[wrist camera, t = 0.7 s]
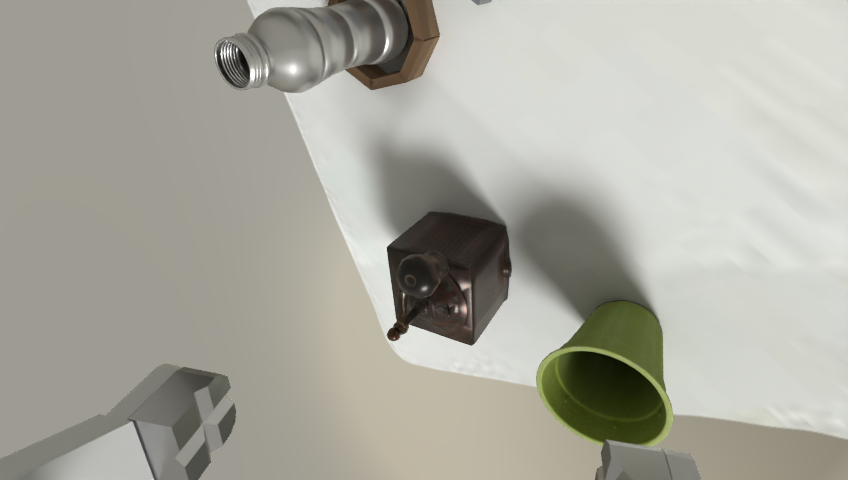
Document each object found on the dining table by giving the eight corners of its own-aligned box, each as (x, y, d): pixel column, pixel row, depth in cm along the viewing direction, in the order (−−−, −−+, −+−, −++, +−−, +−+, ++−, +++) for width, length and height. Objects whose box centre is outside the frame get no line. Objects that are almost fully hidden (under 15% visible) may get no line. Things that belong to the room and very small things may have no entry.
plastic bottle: (374, -26, 47) (202, -6, 32) (427, 14, 46) (274, 51, 31) (355, 34, 51) (195, 75, 37) (403, 71, 50) (259, 128, 36)
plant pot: (691, 287, 45) (676, 366, 37) (684, 381, 51) (669, 467, 42) (566, 272, 52) (530, 336, 44) (571, 356, 57) (540, 427, 49)
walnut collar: (365, -62, 46) (345, -62, 43) (454, 4, 44) (438, 8, 42) (334, 42, 53) (316, 46, 51) (409, 101, 52) (394, 108, 49)
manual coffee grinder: (513, 301, 58) (441, 409, 45) (433, 280, 63) (348, 371, 50) (515, 183, 50) (429, 272, 37) (424, 169, 55) (320, 243, 42)
